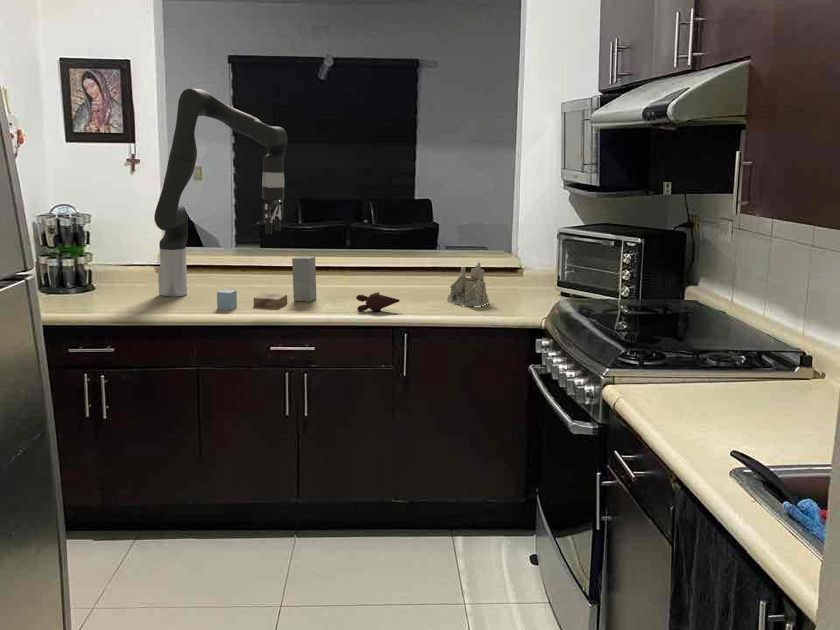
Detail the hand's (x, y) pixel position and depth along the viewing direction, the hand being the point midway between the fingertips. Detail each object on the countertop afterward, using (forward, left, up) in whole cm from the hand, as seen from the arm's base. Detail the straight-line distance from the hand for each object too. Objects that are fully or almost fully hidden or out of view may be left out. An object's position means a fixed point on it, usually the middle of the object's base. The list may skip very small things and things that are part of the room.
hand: (272, 232), depth 304 cm
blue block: (-12, -12, -26) cm, 31 cm away
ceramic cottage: (+66, +26, -26) cm, 75 cm away
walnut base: (0, -2, -26) cm, 26 cm away
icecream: (+38, 0, -26) cm, 46 cm away
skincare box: (+8, +11, -26) cm, 29 cm away
